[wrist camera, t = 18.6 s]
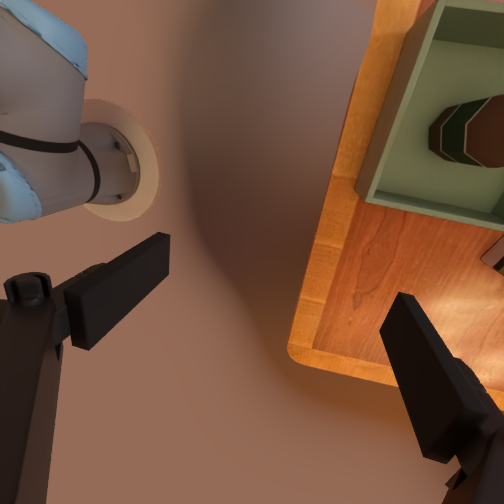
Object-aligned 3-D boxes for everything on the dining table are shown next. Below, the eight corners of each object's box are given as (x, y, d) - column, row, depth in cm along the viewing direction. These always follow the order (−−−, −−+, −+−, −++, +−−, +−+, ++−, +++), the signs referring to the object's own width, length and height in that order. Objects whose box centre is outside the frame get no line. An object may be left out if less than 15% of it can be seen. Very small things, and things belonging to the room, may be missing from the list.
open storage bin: (353, 189, 45) (364, 202, 36) (407, 31, 35) (440, -6, 26) (489, 217, 42) (537, 238, 33) (584, 55, 33) (687, 24, 24)
